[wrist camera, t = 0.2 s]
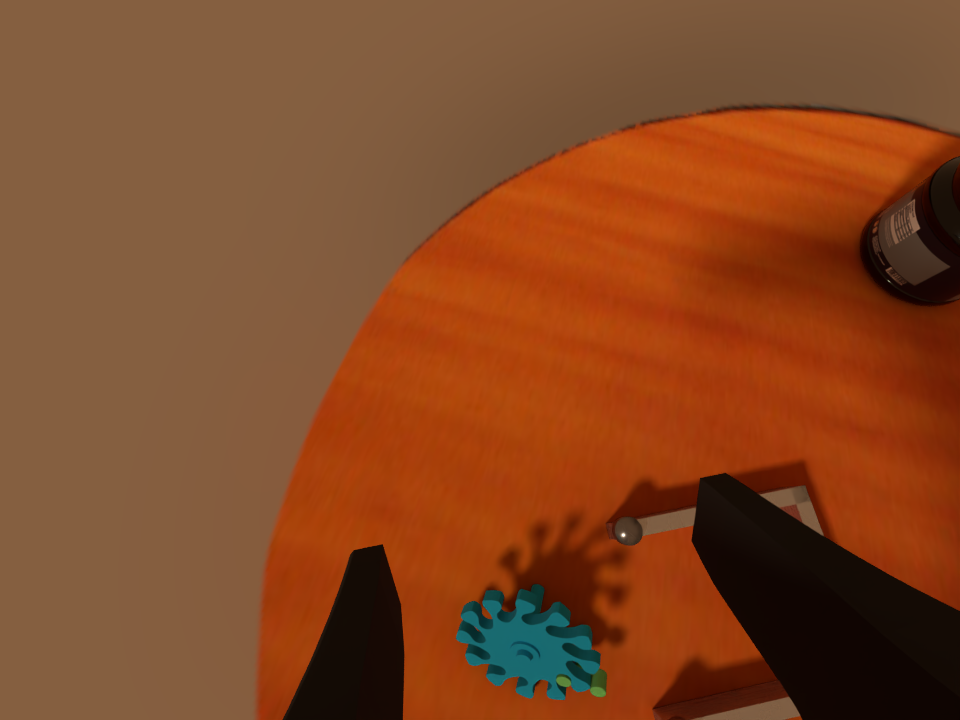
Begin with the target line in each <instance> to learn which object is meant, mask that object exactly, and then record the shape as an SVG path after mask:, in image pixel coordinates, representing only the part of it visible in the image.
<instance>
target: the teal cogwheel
mask: <svg viewBox="0 0 960 720" xmlns="http://www.w3.org/2000/svg"><path fill="white" fill-rule="evenodd" d="M544 591H545V590H544V588H543V586H541V585H539V584H534V585H533V586H532V588H531V592H530V591H527V590H524V589H520V590H519V591H518V595H517V599H516V603H515V605H516V609H515V610H514V611H512V612H505V611H503V610H502V609H501V608H502V604H503V600H504V594H503V593H502V592H501V591H497V590H488V591H486V593H485V596H484V599H483V606H484V607H485V608H486V609H487V610H488V612H489V613H490V614H491V616H492V619H487V618H485V617H484V616H483V614H482V608H481V606H480V604H479V603H477V602H476V601H471V602H469V603H467V604H466V605H464V607H463V610H462V613H461V618H462V619H463V621H462V622H461V624H460V627H459V630H458V632H457V636H456V639H457V640H458V641H459V642H462V643H468V648H467V651H466V654H465V656H466V659H467V661H468V663H469V664H470V665H473V666H477V665H480V664H490V665H489V667H488V670H487V674H486V677H487V678H488V679H489V680H490V681H491V682H492V683H493V684H494V685H496V686H500V685H502V684H503V682H504V681H505V680H506V679H508V678H511V677H517V676H520V677H519V678H518V682H517V687H516V692H517V693H518V694H520V695H522V696H524V697H527V698H532V697H533V695H534V690H535V683H536V682H537V681H539V680H547V681H548V688H547V696H548V697H549V698H551V699H556V700H565V695H566V687H569V686H570V685H571V686H572V688H573V689H574V690H575V691H577V692H582V691H586V690H588V689H590V692H591V693H592V694H593V695H595V696H597V697H604V696H605V695H606V681H607V674H606V672H605V671H604V670H602V669H599V667H600V656H601V654H600V653H599V652H597V651H595V650H590V649H591V647H592V636H593V635H592V631H591V627H590V626H588V625H579V626H576V627H566V626H568V625H569V624H570V616H571V612H570V610H569V609H568V608H567V607H566V606H565V605H563V604H562V603H561V602H555V603H553V604H552V606H551V608H550V609H549V610H547V611H546V612H543V613H540V611H541V606H542V601H543V596H544ZM474 626H475V627H476V628H477V629H478V630H479V631H480V632H479V631H477V630H476V628H475V627H474ZM590 686H591V687H590Z"/></svg>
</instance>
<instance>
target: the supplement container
mask: <svg viewBox="0 0 960 720" xmlns="http://www.w3.org/2000/svg"><path fill="white" fill-rule="evenodd" d="M860 249H861V257H862V260H863V263H864V266H865V268H866V270H867V271H868V273H869V274H870V276H871V277H872V279H873V280H874V281H875V282H876V283H877V284H878V285H879V286H880V287H881V288H882V289H883V290H885V291H886V292H887V293H889V294H890V295H892V296H894V297H896V298H898V299H900V300H902V301H905V302H908V303H911V304H915V305H920V306H939V305H945V304H949V303H952V302H955V301H957V300H960V156H958V157H955V158H953V159H951V160H949V161H947V162H946V163H944V164H943V165H941V166H940V167H939V168H937V169H936V170H935V171H934V172H933V173H932V174H931V176H929V177H928V178H927V179H925V180H924V181H923V182H921V183H920V184H919V185H917V186H916V187H915V188H913V189H912V190H911V191H909V192H908V193H907V194H905V195H904V196H903V197H901V198H900V199H899V200H897V201H896V202H895V203H893V204H892V205H891V206H889V207H888V208H886V209H884V210H883V211H881V212H880V213H878V214H877V215H876V216H875V217H874V218H873V219H872V220H871V221H870V222H869V223H868V225H867V226H866V228H865V230H864V232H863V235H862V238H861V245H860Z"/></svg>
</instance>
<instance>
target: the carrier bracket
mask: <svg viewBox="0 0 960 720" xmlns="http://www.w3.org/2000/svg"><path fill="white" fill-rule="evenodd" d="M757 494H759V495H760V496H762V497H764V498H765V499H767V500H768V501H770V502H771V503H773V504H774V505H776V506H777V507H779V508H780V509H782V510H783V511H785V512H786V513H788V514H790V515H791V516H793V517H794V518H796V519H797V520H799V521H800V522H802V523H804V524H805V525H807V526H808V527H810V528H811V529H813V530H815V531H816V532H818V533H819V534H821V535H823V532H822V530H821V527H820V524H819V522H818V519H817V516H816V513H815V511H814V508H813V505H812V503H811V500H810V497H809V495H808V492H807V489H806V487H805V485H802V486H792V487H782V488H777V489H772V490H767V491H762V492H757ZM695 512H696V505H694V506H689V507H684V508H679V509H674V510H669V511H664V512H659V513H654V514H650V515H645V516H640V517H635V518H633V517H620V518H618V519H616V520H615V522H610V523H606V527H607V531H608V535H609V539H613V540H617V541H618V542H619V543H621V544H624V545H635V544H637V543H638V542H639V541H640V540H641V538H642V536H644V535H649V534H654V533H659V532H664V531H668V530H673V529H678V528H683V527H688V526H693V525H694V520H695ZM823 536H824V535H823ZM653 713H654V717H655V720H784V719H788V718H793V717H797V716H800V714H799V712H798V710H797V709H796V707H795V705H794V704H793V702H792V700H791V699H790V697H789V696H788V694H787V692H786V691H785V689H784V688H783V686H782V685H781V683H780V681H779V680H776V681H772V682H768V683H763V684H759V685H755V686H750V687H746V688H742V689H737V690H733V691H728V692H724V693H720V694H715V695H711V696H707V697H702V698H698V699H694V700H689V701H685V702H681V703H676V704H672V705H668V706H663V707H659V708H654V709H653Z"/></svg>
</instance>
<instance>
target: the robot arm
mask: <svg viewBox="0 0 960 720" xmlns="http://www.w3.org/2000/svg"><path fill="white" fill-rule="evenodd" d="M692 543H693V545H694V547H695V549H696V551H697V553H698V555H699V557H700V559H701V561H702V563H703V565H704V566H705V568H706V570H707V572H708V574H709V576H710V578H711V580H712V581H713V583H714V585H715V586H716V588H717V590H718V591H719V593H720V594H721V596H722V597H723V599H724V600H725V602H726V603H727V605H728V606H729V608H730V609H731V611H732V612H733V614H734V615H735V617H736V618H737V620H738V621H739V623H740V624H741V625H742V627H743V628H744V630H745V631H746V633H747V634H748V636H749V637H750V639H751V640H752V642H753V643H754V645H755V646H756V648H757V649H758V651H759V652H760V653H761V655H762V656H763V658H764V659H765V661H766V662H767V664H768V665H769V667H770V668H771V670H772V671H773V673H774V674H775V676H776V677H777V679H778V680H779V681H780V683H781V685H782V686H783V688H784V689H785V691H786V692H787V694H788V696H789V697H790V699H791V700H792V702H793V704H794V705H795V707H796V709H797V710H798V712H799V714H800V716H801V717H802V719H803V720H960V611H958V610H956V609H954V608H952V607H950V606H948V605H946V604H944V603H942V602H940V601H939V600H937V599H935V598H933V597H931V596H929V595H927V594H925V593H923V592H921V591H919V590H917V589H915V588H913V587H911V586H909V585H907V584H906V583H904V582H902V581H900V580H898V579H896V578H894V577H893V576H891V575H889V574H887V573H885V572H884V571H882V570H880V569H878V568H877V567H875V566H873V565H871V564H870V563H868V562H866V561H864V560H863V559H861V558H859V557H857V556H856V555H854V554H852V553H851V552H849V551H847V550H846V549H844V548H842V547H841V546H839V545H837V544H836V543H834V542H832V541H831V540H829V539H827V538H826V537H824V536H823V535H821V534H819V533H818V532H816V531H815V530H813V529H811V528H810V527H808V526H807V525H805V524H804V523H802V522H800V521H799V520H797V519H796V518H794V517H793V516H791V515H790V514H788V513H786V512H785V511H783V510H782V509H780V508H779V507H777V506H776V505H774V504H773V503H771V502H770V501H768V500H767V499H765V498H764V497H762V496H760V495H759V494H757V493H756V492H754V491H753V490H751V489H750V488H748V487H747V486H745V485H744V484H742V483H741V482H739V481H738V480H736V479H734V478H733V477H731V476H730V475H728V474H726V473H723V474H718V475H713V476H709V477H704V478H700V484H699V491H698V498H697V505H696V512H695V520H694V527H693V534H692ZM403 691H404V641H403V627H402V614H401V603H400V600H399V597H398V594H397V590H396V587H395V584H394V580H393V577H392V574H391V570H390V567H389V564H388V560H387V557H386V554H385V550H384V547H383V544H382V545H377V546H372V547H367V548H362V549H358V550H354V551H353V552H352V553H351V555H350V557H349V561H348V564H347V567H346V570H345V573H344V576H343V579H342V582H341V585H340V588H339V591H338V594H337V597H336V599H335V602H334V605H333V607H332V610H331V612H330V615H329V618H328V620H327V623H326V625H325V627H324V630H323V632H322V635H321V637H320V639H319V642H318V644H317V647H316V649H315V652H314V654H313V656H312V659H311V661H310V663H309V665H308V667H307V670H306V672H305V674H304V676H303V678H302V680H301V682H300V684H299V687H298V689H297V691H296V693H295V695H294V697H293V699H292V701H291V704H290V706H289V708H288V710H287V712H286V714H285V716H284V718H283V720H403Z"/></svg>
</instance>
